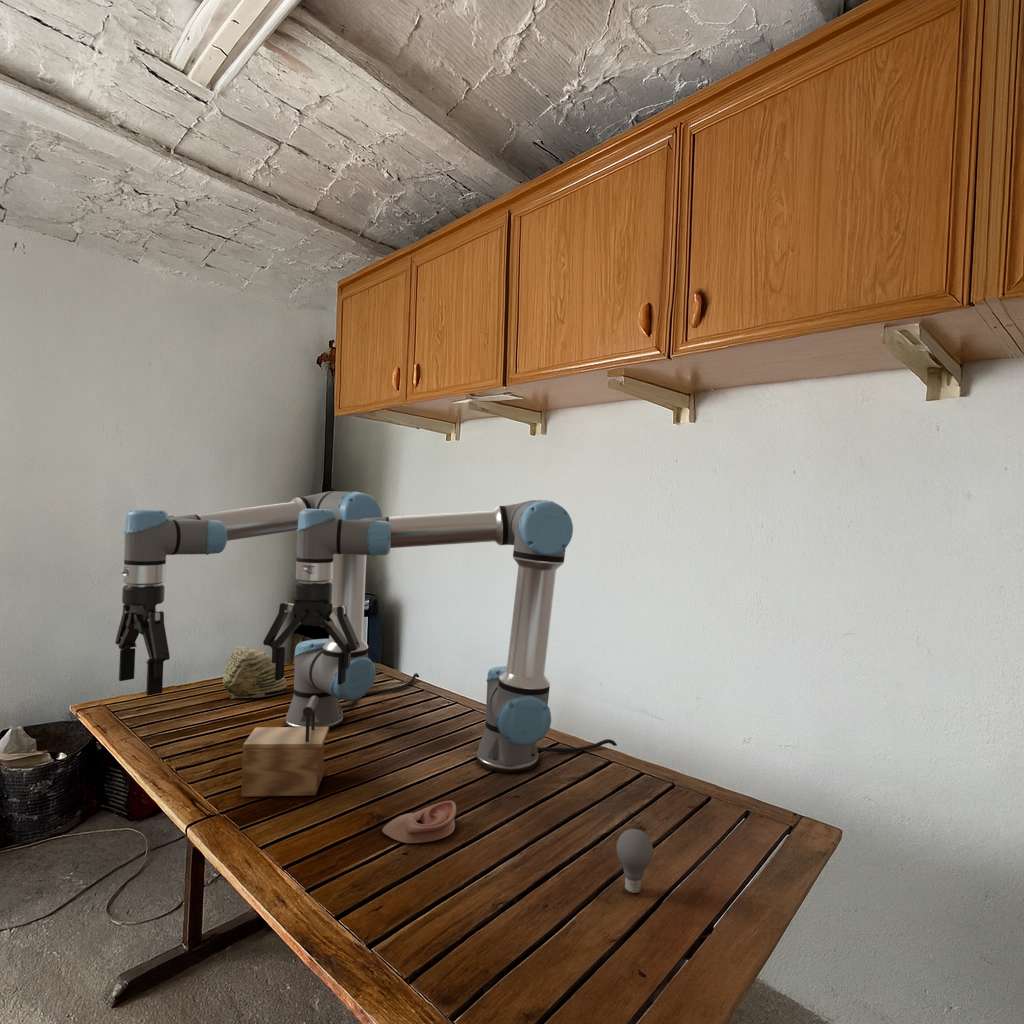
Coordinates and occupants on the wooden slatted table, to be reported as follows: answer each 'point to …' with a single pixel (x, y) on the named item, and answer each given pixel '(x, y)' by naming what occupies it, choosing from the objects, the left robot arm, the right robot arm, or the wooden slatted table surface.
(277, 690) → the fossil
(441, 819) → the anatomical model
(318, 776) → the chest
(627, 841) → the light bulb
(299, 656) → the left robot arm
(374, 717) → the wooden slatted table surface
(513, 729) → the right robot arm
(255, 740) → the lid
